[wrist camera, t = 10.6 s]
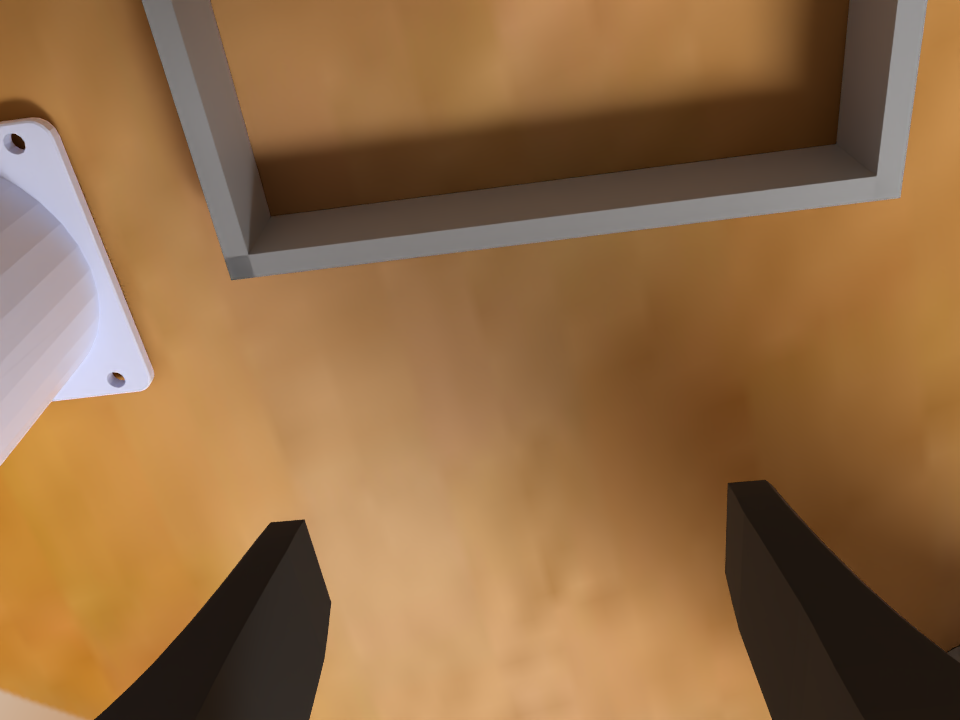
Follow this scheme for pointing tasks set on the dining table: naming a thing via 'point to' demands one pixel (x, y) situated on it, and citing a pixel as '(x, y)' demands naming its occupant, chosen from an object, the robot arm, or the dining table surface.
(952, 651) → the thermos
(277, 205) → the dining table surface
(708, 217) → the rack
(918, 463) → the dining table surface
